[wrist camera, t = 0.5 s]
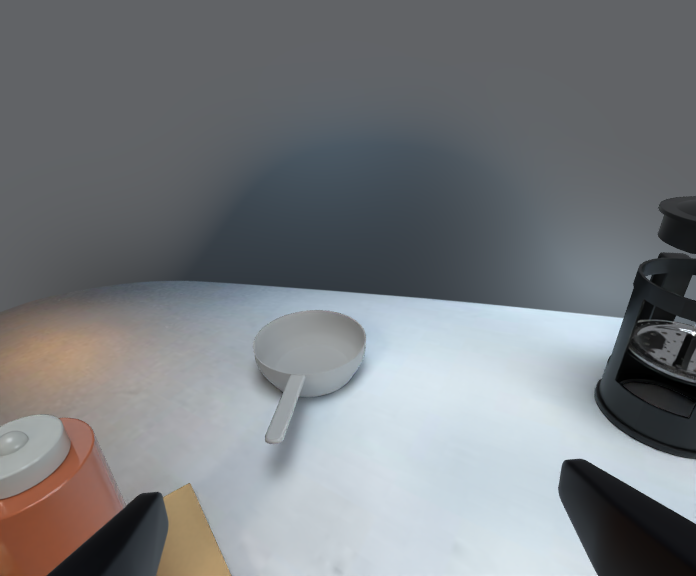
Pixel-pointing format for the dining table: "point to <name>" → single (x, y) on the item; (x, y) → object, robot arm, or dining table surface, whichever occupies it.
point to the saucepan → (307, 359)
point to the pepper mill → (51, 492)
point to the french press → (658, 341)
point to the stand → (189, 539)
